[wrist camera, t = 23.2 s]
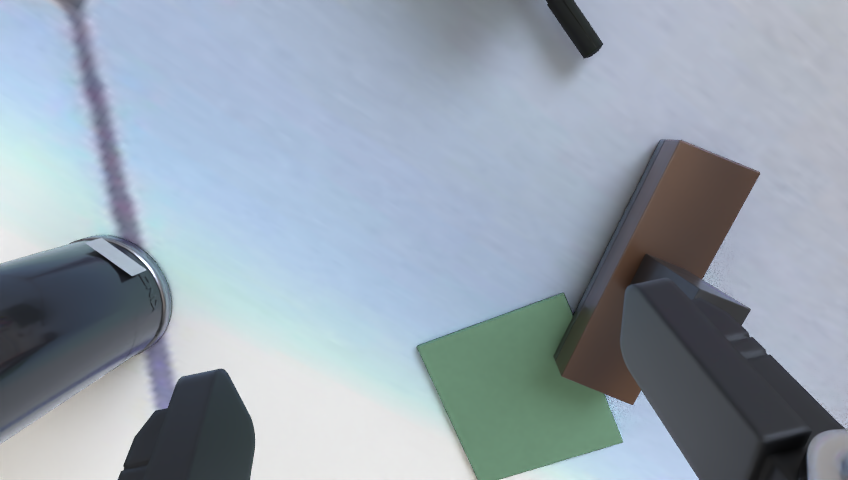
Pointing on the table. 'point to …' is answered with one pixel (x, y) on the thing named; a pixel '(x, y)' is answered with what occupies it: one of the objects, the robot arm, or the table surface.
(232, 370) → the table surface
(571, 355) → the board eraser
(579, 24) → the handheld radio
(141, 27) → the table surface
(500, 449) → the rubber mat
